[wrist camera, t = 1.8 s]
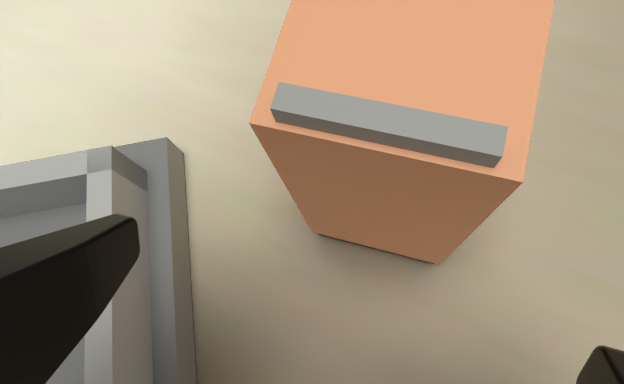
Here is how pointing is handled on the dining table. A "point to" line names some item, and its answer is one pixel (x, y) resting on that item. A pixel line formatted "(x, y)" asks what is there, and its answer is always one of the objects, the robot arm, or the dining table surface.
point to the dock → (146, 271)
